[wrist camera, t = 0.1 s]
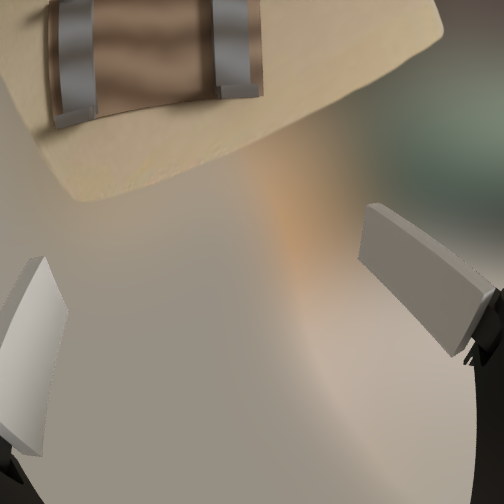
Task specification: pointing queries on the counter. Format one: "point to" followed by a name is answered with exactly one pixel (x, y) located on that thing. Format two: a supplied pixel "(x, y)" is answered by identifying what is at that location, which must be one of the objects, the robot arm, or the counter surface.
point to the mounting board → (150, 54)
